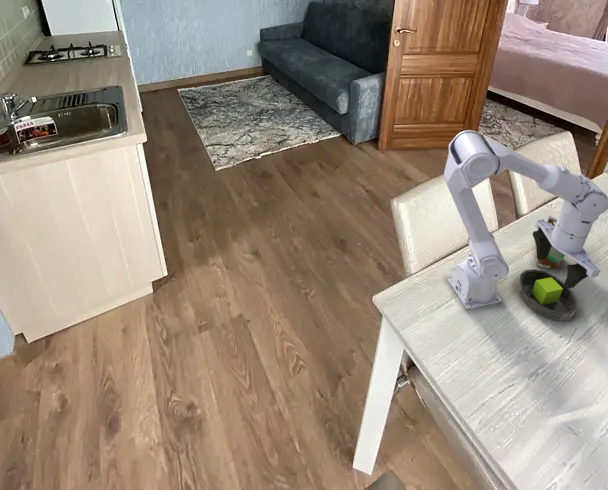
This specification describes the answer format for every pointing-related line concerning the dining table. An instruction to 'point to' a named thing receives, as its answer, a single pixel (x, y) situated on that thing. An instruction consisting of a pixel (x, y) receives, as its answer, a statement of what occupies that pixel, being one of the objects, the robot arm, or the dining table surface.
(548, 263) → the food container
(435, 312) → the dining table surface
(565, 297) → the bowl
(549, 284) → the green block
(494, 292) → the robot arm
